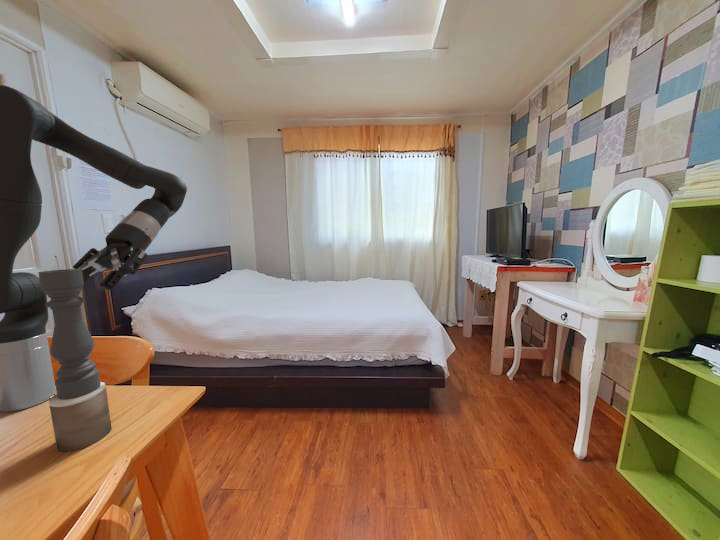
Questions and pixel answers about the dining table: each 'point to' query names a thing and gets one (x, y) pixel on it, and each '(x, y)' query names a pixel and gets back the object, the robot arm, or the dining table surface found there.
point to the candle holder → (70, 334)
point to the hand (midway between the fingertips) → (88, 287)
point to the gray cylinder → (80, 420)
